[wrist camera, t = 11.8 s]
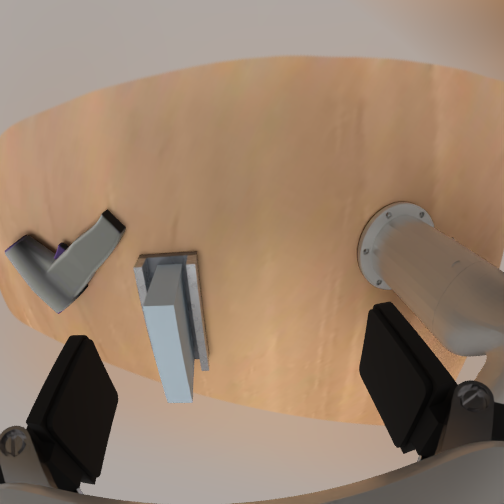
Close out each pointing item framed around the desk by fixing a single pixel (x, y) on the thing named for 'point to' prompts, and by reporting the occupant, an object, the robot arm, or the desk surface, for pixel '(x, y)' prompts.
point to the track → (189, 261)
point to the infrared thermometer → (65, 262)
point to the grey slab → (171, 332)
